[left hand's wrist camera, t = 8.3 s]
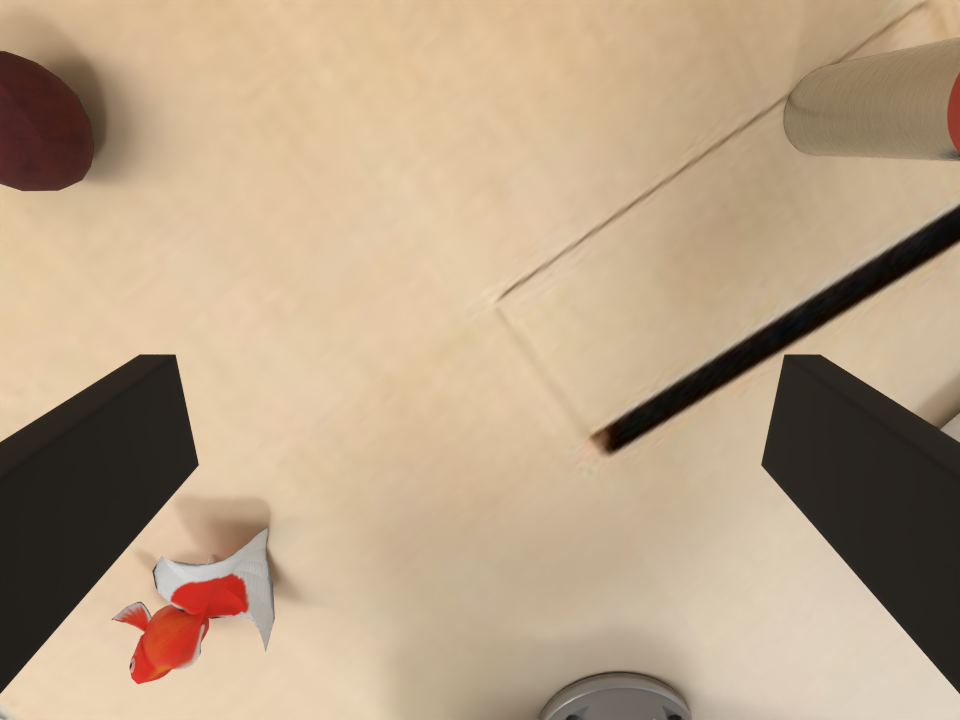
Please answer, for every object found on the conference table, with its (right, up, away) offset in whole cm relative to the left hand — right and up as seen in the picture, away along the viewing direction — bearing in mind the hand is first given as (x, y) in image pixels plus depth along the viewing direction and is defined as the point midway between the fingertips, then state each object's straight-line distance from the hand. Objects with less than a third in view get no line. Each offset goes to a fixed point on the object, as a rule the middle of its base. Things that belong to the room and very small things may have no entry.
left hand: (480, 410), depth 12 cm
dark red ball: (-27, +16, +24) cm, 39 cm away
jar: (+22, +17, +23) cm, 36 cm away
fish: (-23, -17, +37) cm, 46 cm away
